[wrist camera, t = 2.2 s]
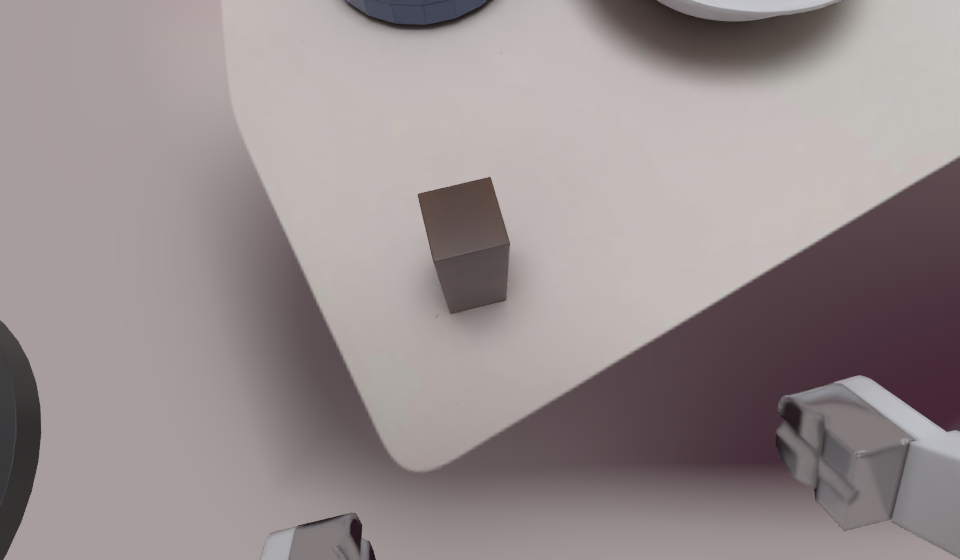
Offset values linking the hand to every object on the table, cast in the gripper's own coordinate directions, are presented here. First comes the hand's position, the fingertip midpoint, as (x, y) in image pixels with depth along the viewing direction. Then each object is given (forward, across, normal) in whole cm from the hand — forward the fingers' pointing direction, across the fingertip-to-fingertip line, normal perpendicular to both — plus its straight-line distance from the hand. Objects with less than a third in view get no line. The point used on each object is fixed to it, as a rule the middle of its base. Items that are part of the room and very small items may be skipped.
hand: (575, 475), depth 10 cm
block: (+26, 0, +8) cm, 27 cm away
